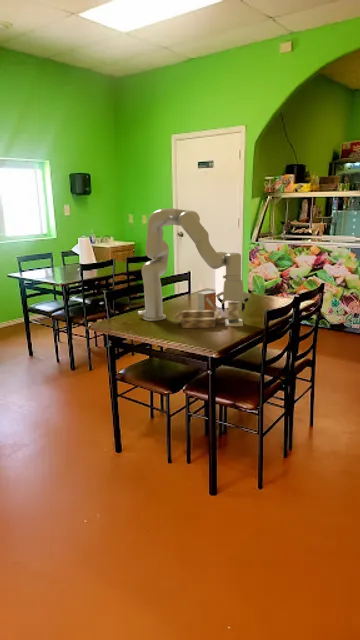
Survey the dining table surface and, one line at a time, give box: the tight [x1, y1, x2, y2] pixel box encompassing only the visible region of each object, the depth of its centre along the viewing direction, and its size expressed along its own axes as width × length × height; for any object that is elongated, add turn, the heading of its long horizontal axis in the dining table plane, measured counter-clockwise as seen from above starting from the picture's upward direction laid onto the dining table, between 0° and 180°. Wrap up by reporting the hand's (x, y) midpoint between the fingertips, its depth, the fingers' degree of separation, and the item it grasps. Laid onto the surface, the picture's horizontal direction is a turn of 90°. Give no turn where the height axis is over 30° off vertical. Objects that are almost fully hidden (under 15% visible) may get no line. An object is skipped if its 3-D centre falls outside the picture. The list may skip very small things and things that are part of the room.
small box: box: [197, 290, 217, 311], centre depth 242 cm, size 8×6×13 cm
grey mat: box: [224, 318, 244, 327], centre depth 225 cm, size 9×10×1 cm
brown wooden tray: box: [174, 309, 222, 329], centre depth 226 cm, size 23×19×5 cm
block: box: [227, 301, 240, 323], centre depth 224 cm, size 5×6×10 cm
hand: (233, 310), depth 224 cm, fingers open, 9 cm apart
